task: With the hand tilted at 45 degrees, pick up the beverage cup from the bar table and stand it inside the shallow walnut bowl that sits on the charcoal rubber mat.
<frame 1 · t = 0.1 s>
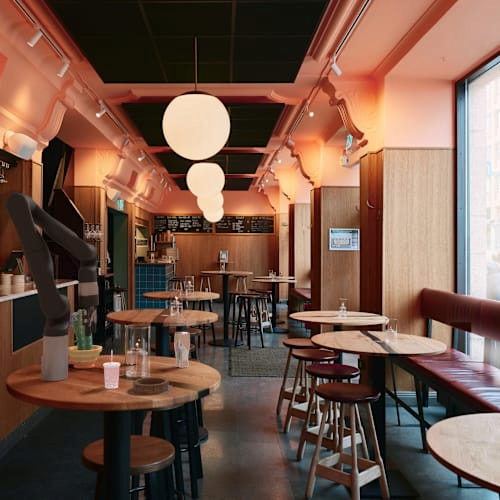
hand: (90, 334, 208), 17 cm above the table, tool pointing down, fingers open, 8 cm apart
mat: (151, 390, 190), on the table
beer glass: (182, 367, 232), on the table
beverage cup: (111, 388, 194), on the table
bowl: (151, 389, 190), resting on mat
potted cactus: (84, 366, 232), on the table
beer can: (131, 364, 237), on the table
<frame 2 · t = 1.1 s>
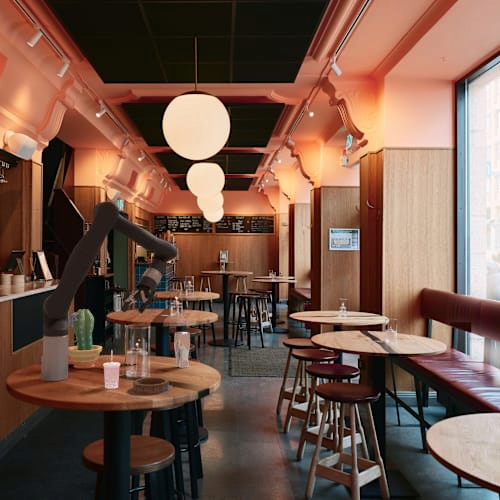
hand: (131, 311, 210), 27 cm above the table, tool tilted 45°, fingers open, 8 cm apart
nothing on the table moved.
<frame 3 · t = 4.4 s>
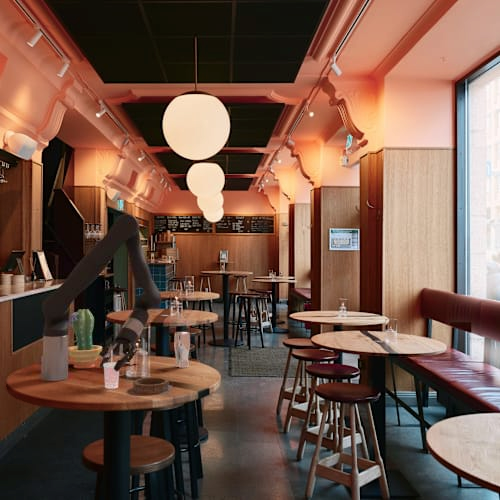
hand: (108, 369, 192), 7 cm above the table, tool tilted 45°, fingers closed on beverage cup, 6 cm apart
beverage cup: (111, 388, 194), on the table, touching gripper
everything else where it was.
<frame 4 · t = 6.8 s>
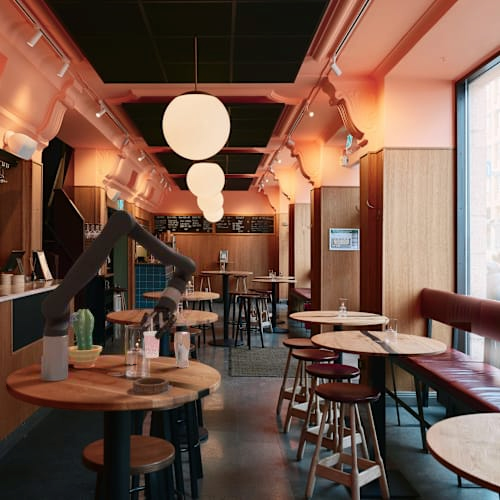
hand: (149, 337, 189), 19 cm above the table, tool tilted 45°, fingers closed on beverage cup, 6 cm apart
beverage cup: (152, 357, 191), point 12 cm above the table, touching gripper
everything else where it was.
when the fingers open (9 cm above the table, at t = 9.3 s): beverage cup stays where it is, resting on bowl.
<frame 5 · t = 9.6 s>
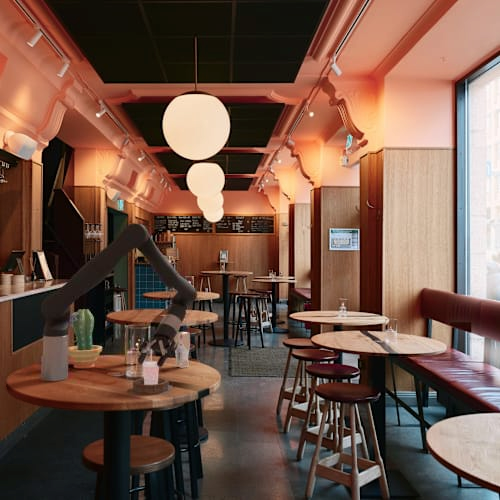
hand: (149, 364, 189), 10 cm above the table, tool tilted 45°, fingers open, 8 cm apart
beverage cup: (150, 388, 191), point 1 cm above the table, touching bowl
everything else where it was.
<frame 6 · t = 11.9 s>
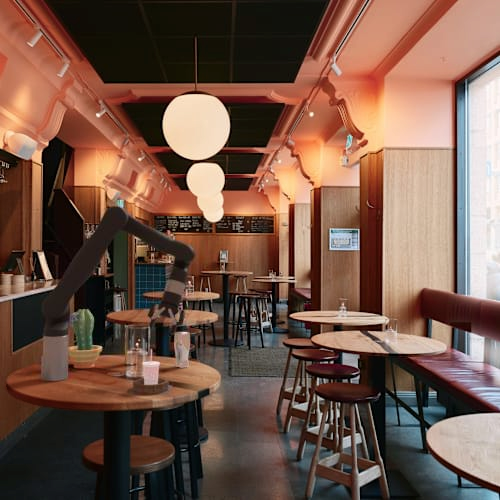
hand: (161, 332, 207), 19 cm above the table, tool tilted 20°, fingers open, 8 cm apart
nothing on the table moved.
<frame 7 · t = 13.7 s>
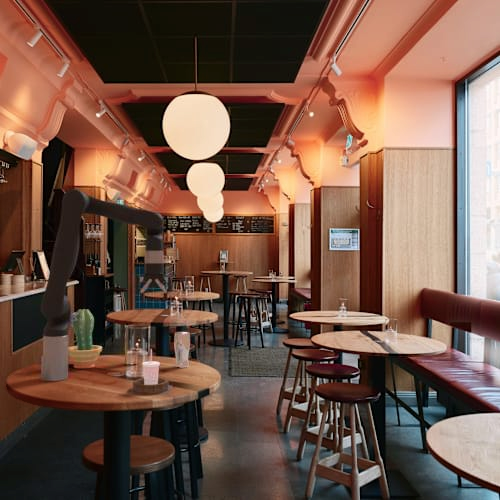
hand: (153, 302, 212), 30 cm above the table, tool pointing down, fingers open, 8 cm apart
nothing on the table moved.
at the end: beverage cup inside the target area on the bowl (0.3 cm from its centre), point 0.4 cm above the bowl's base; beverage cup tilted 0°; the gripper is holding nothing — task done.
